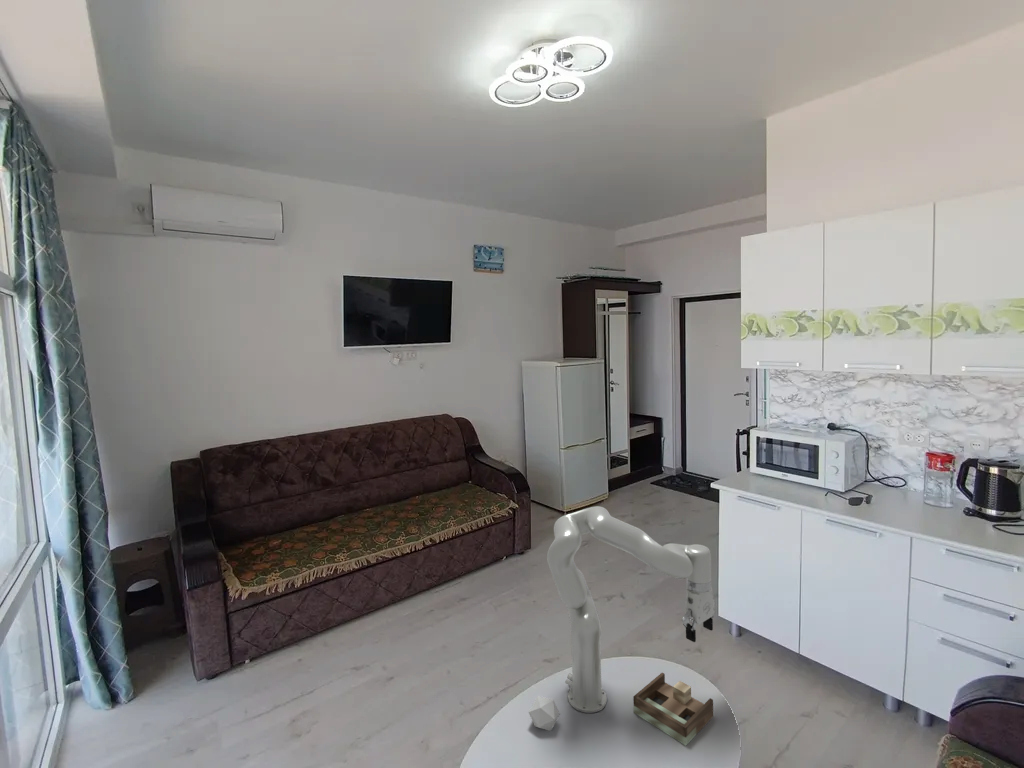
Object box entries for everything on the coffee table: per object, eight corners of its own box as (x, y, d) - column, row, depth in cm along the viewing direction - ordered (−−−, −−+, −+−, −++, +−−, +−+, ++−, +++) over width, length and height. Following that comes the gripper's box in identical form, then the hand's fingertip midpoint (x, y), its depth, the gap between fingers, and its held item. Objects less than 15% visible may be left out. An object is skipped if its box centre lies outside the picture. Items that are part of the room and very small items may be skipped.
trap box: (633, 712, 157) (633, 696, 156) (662, 687, 167) (662, 672, 167) (685, 745, 143) (685, 728, 143) (713, 716, 154) (713, 699, 153)
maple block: (673, 698, 159) (673, 686, 158) (679, 692, 161) (679, 680, 161) (684, 704, 156) (684, 692, 155) (691, 698, 158) (691, 686, 158)
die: (563, 721, 155) (550, 687, 159) (563, 727, 147) (549, 691, 151) (539, 734, 154) (526, 699, 159) (537, 740, 146) (523, 704, 151)
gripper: (693, 597, 152) (694, 650, 153) (724, 579, 162) (724, 629, 163) (672, 588, 158) (673, 639, 159) (703, 571, 168) (704, 619, 169)
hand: (699, 634), depth 161 cm, fingers open, 9 cm apart
